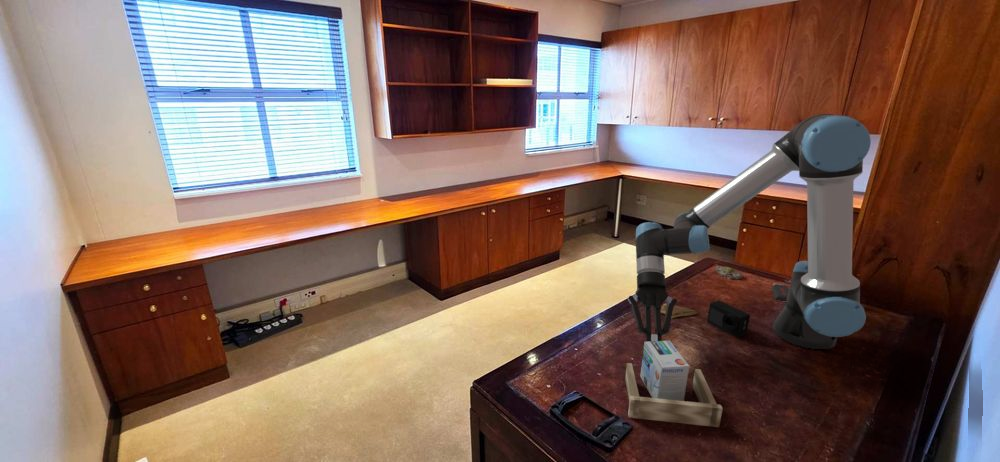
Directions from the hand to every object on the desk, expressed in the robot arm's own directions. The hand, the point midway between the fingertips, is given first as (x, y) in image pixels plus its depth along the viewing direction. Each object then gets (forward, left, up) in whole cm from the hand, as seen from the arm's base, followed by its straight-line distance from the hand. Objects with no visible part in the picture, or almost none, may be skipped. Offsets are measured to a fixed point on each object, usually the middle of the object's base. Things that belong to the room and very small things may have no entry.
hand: (654, 360), depth 105 cm
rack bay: (-1, +10, -4) cm, 11 cm away
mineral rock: (-41, -67, -4) cm, 79 cm away
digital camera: (-26, -25, -4) cm, 36 cm away
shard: (-13, -34, -4) cm, 37 cm away
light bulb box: (-1, +7, -4) cm, 8 cm away
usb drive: (-53, -51, -4) cm, 74 cm away
